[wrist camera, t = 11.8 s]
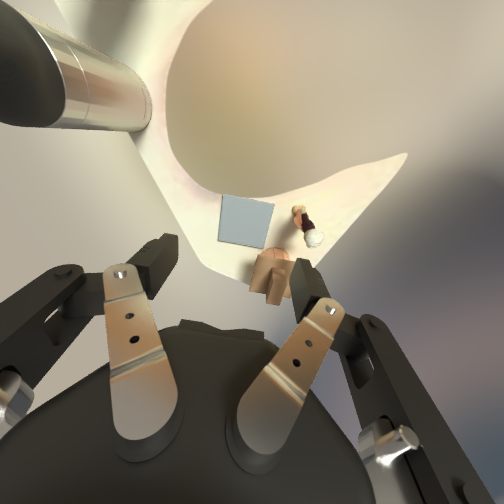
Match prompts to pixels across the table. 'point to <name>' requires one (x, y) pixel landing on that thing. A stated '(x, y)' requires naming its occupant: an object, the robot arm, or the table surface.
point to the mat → (244, 221)
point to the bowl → (276, 253)
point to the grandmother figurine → (307, 227)
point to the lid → (272, 278)
